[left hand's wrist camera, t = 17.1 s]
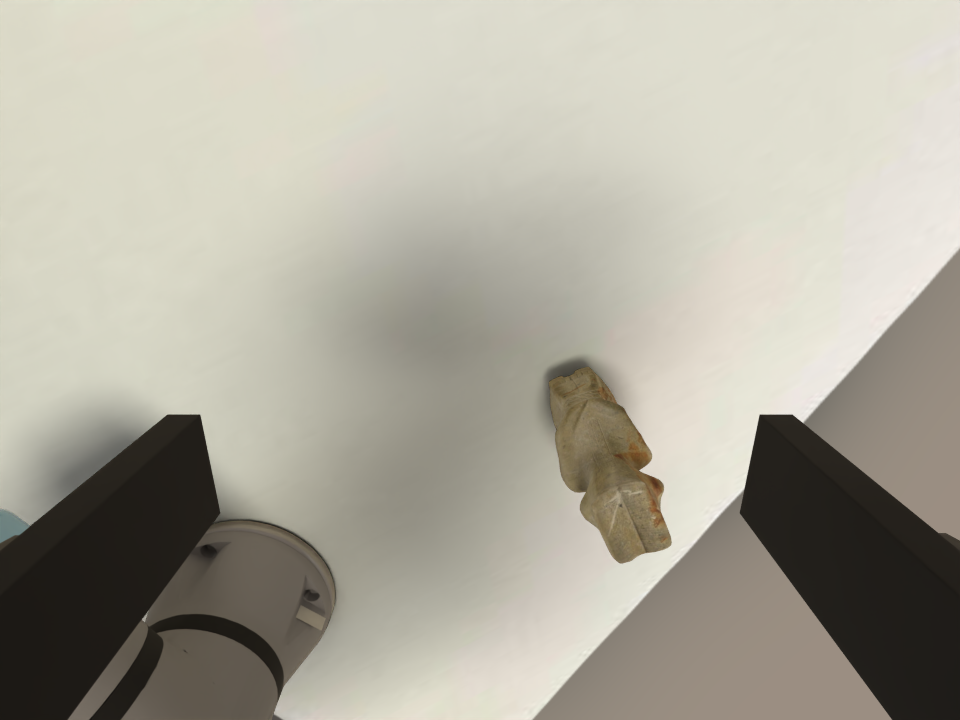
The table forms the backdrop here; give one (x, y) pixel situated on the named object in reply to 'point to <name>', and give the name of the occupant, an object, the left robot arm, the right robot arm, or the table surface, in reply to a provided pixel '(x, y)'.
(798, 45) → the table surface
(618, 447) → the sculpture
